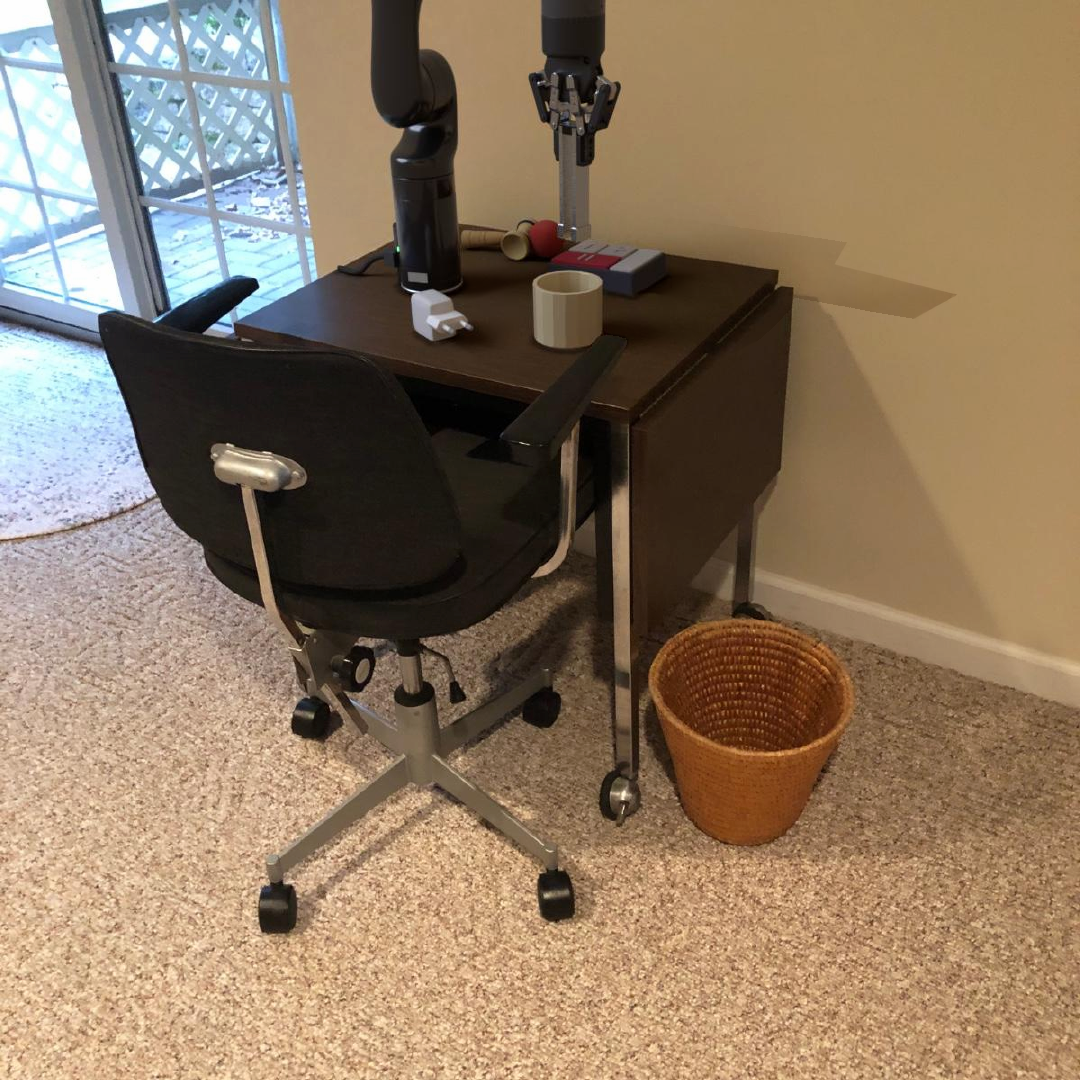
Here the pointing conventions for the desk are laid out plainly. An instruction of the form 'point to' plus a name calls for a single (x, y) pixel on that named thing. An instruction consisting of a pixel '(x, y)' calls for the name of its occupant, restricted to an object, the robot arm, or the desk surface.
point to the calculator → (614, 265)
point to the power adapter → (436, 315)
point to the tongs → (572, 187)
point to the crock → (567, 308)
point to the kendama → (520, 239)
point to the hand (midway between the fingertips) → (573, 162)
